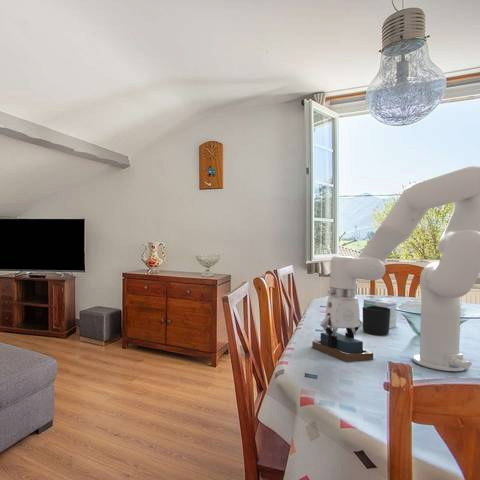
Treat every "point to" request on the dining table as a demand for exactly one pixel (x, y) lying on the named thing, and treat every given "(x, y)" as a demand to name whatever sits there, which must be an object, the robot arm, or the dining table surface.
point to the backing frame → (341, 355)
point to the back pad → (344, 343)
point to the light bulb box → (384, 303)
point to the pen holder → (376, 320)
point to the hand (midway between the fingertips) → (340, 345)
